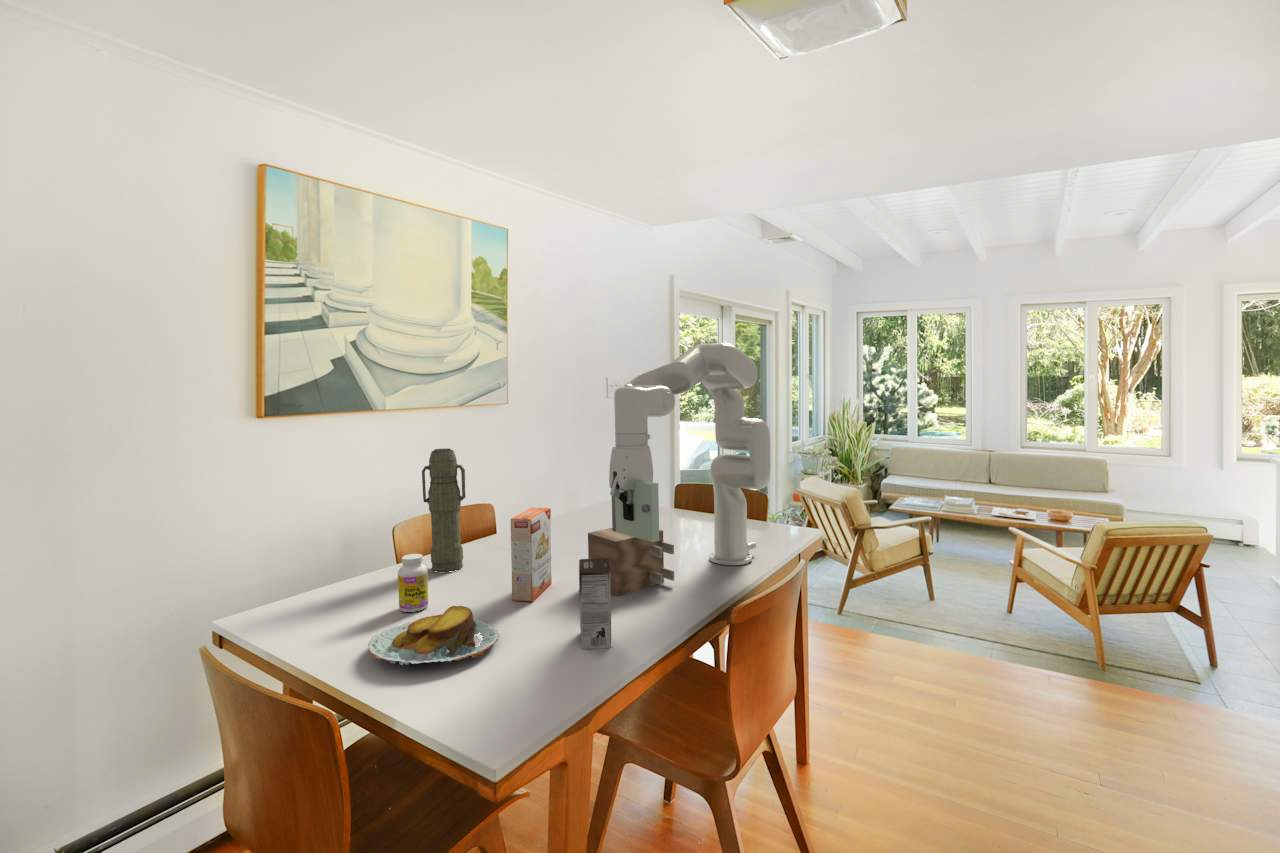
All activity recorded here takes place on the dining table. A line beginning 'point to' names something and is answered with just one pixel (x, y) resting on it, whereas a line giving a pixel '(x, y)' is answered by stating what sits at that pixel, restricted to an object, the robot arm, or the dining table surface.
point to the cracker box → (531, 553)
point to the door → (639, 513)
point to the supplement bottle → (413, 584)
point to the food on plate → (434, 638)
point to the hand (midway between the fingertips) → (633, 518)
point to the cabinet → (630, 559)
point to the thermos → (444, 509)
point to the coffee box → (595, 603)
